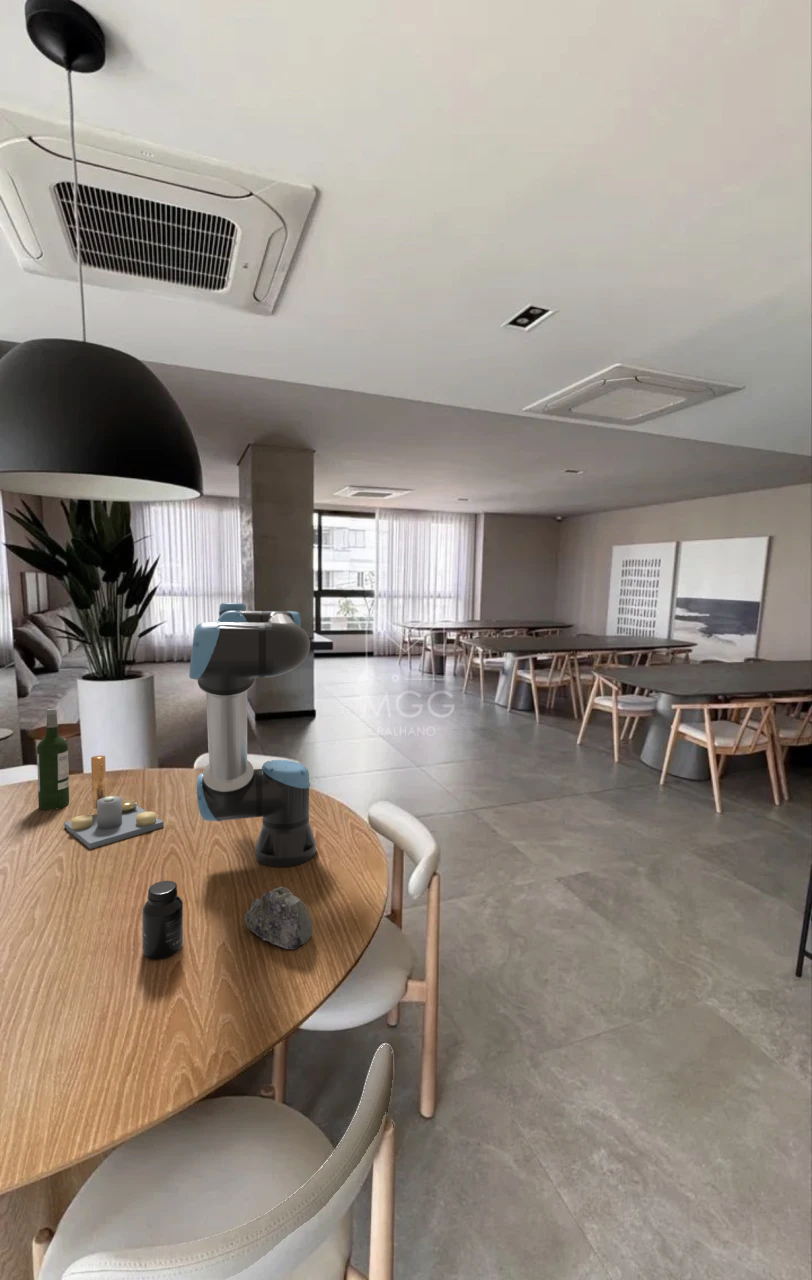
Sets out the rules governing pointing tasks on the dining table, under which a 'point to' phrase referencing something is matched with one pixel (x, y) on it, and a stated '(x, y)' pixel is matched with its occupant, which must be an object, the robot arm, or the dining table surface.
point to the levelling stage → (114, 833)
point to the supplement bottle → (162, 921)
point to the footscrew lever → (104, 784)
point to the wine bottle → (52, 766)
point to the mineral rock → (280, 919)
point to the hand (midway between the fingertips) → (233, 734)
